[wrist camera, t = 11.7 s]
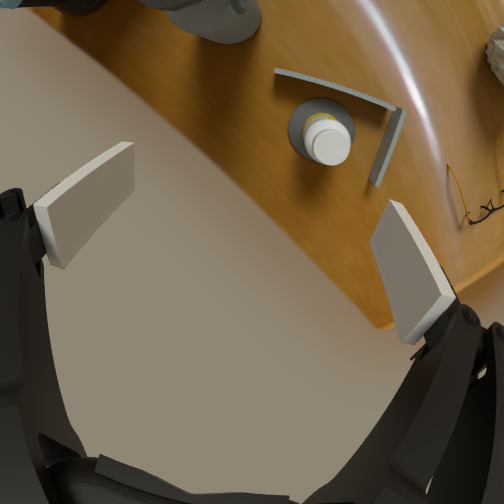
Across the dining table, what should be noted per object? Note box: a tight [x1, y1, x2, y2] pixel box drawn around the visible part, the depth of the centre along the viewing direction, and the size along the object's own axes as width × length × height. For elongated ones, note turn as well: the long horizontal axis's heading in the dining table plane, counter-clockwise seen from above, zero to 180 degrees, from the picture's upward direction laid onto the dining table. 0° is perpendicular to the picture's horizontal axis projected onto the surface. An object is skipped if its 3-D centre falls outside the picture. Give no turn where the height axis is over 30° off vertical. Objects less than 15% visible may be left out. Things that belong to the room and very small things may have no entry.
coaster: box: [288, 98, 355, 161], centre depth 41 cm, size 11×11×1 cm
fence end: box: [369, 106, 407, 187], centre depth 39 cm, size 1×14×4 cm, turn 169°
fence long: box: [274, 68, 397, 111], centre depth 35 cm, size 19×1×4 cm, turn 79°
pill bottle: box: [302, 112, 351, 165], centre depth 36 cm, size 6×6×12 cm
